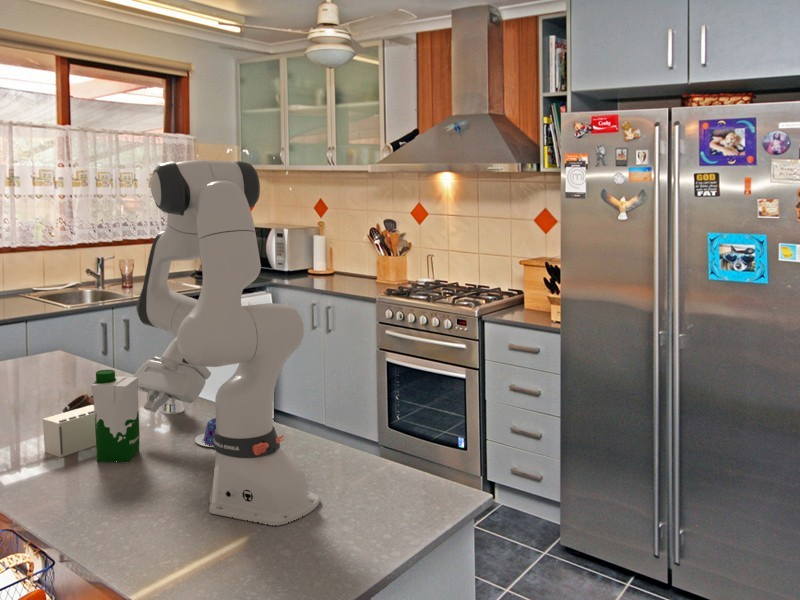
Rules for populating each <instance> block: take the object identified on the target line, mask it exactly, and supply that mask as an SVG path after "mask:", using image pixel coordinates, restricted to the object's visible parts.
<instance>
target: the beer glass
mask: <svg viewBox="0 0 800 600" xmlns="http://www.w3.org/2000/svg"><path fill="white" fill-rule="evenodd" d="M161 357H162V356H160V357H159V358H161ZM183 403H184V402H183V401H179V400H175V399H171V398H169V399H168V401H167V402H166V403H165V404H163V405H162V406H160V407H161V408H160V413H161V414H163V415H177V414H182V413H183V412H184V411H185V408H184V407H185V406H184V404H183Z"/></svg>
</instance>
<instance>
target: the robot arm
mask: <svg viewBox="0 0 800 600" xmlns="http://www.w3.org/2000/svg"><path fill="white" fill-rule="evenodd" d="M150 191H151V192H150V193H151V195H152V196H151V197H152V198H153V201H154V203H155V205H156V207H157V209H159V210H160V211H162V212H163V213H166V214H167V215H166V216H167V218H166V227H165V230H162V231H160V232H159V233H157V235H156V236H155V238H154V240H153V241H152V244H151V248H150V252H149V256H148V260H147V264H146V270H145V276H144V278H143V279H144V280H143V284H142V288H141V291H140V294H139V296H138V300H137V303H136V307H135V308H136V313H137V315H138V319H139V321H140V322H141V323H142V324H143V325H146V326H150V327H153V328H156V329H160V330H163V331H166V332H167V333H170V334H173V335H176V337H174V338H173V340H171V341H170V342H169V344H168V346H166V349H165V350H164V352H163V354H162V355H161V356H160V357H161V358H159V357H158V356H153V357H151V358H150V359H147V360H146V361H145V362H143V364H141V366H140V367H139V368H138V370H136V372H135V373H134V374H133V375H132V377H138V392H143V393H147V395H146V402H145V404H144V405H143V409H144V410H146V411H148V412H151V413H152V412H153V413H157V411H158V410H159V409H160V407H161V406H162V405H163V404H165V403H166V402H167V401H168V399H169V398H171V399H175V400H179V401H182V402H183V403H187V404H192V403H193V402H195V401H196V400H197V399H198V397H200V394H201V393H202V391H203V389H204V387H205V385H206V380H208V379H209V378H210V376H211V374H212V372H211V371H210V370H209V367H210V368H213V367H214V368H216V367H219V368H220V367H223V366H230V365H235V364H236V365H237V364H238V365H237V368H236V370H235V371H234V373H233V374H232V375H231V377H229V379H227V380H226V381H225V382H224V383H222V385H221V386H220V387H219V388H218V389H217V392H216V395H215V403H214V404H215V418H216V429H215V431H214V447H213V448H214V450H215V462H214V470H213V479H212V485H211V490H210V494H209V498H208V500H209V503H210V504H209V511H208V512H209V513H210V514H213V515H216V516H217V515H218V516H222V517H228V518H232V517H233V518H232V519H236V520H237V519H238V520H242V521H247V520H248V521H247V522H252V521H253V523H257V522H259V523H258V524H262V523H263V525H267V524H268V526H272V525H273V526H275V525H276V526H282V525H286V524H289V523H292V522H294V521H293V520H295V521H297V520H299V519H301V518H302V516H303V517H304V516H307V515H308V514H310V513H312V511H315V509H316V508H317V507H318V506H319V504H320V500H321V499H320V496H319V495H318V494H316V493H314V492H311V491H309V490H308V482H307V481H308V480H307V477H306V474H305V472H304V471H303V470H302V469H301V468H300V467H299V465H298V464H297V463H295V462H294V461H293V460H292V459H291V458H290V457H289V456H288V455H287V453H286V452H285V451H284V450H283V449H281V444H280V442H283V441H285V439H283V438H284V436H285V435H279V436H278V434H277V431H276V429H275V427H274V426H273V423H274V422H273V421H274V417H273V416H274V412H273V410H274V396H275V395H274V393H275V388H276V385H277V381H278V378H279V375H280V373H281V371H282V369H283V367H284V365H285V364H286V362H288V361H287V360H288V359H289V358H290V356H292V354H293V353H294V352H296V351H297V349H298V348H299V347H300V346H301V344H302V342H303V339H304V336H305V335H304V333H305V324H304V321H303V317H302V316H301V315H300V313H299V311H298V310H297V309H296V308H295V307H294V306H292V305H289V304H283V303H282V304H281V303H273V302H268V303H260V304H248V305H242V294H243V291H244V289H245V288H247V287H248V286H249V285H251V284H252V283H253V282H254V281H255V280H256V279H257V278H258V276H259V274H260V272H261V268H262V263H261V258H260V253H259V247H258V240H257V234H256V229H255V223H254V219H253V216H252V210H251V209H252V208H254V207H255V205H256V204H257V202H258V201H259V198H260V194H261V185H260V177H259V174H258V172H257V170H256V169H255V168H254V166H253V164H251V163H249V162H245V161H240V160H234V161H225V160H206V159H193V160H184V161H178V162H175V161H174V160H173V161H167V162H163V163H160V164H158V165H157V166H156V167H155V169H154V170H153V172H152V177H151V179H150ZM200 258H201V259H200ZM198 259H200V260H201V269H202V271H201V272H202V283H201V290H200V292H199V293H200V294H199V297H198V298H197V299H196V298H195V297H194V298H193V297H192V296H191V297H190V296H187V295H185V294H183V293H179V292H177V291H174V290H173V289H171V288H170V287H169V285H168V284H167V283H168V279H169V274H170V269H171V265H172V262H175V261H192V260H198ZM298 518H299V519H298ZM296 519H297V520H296ZM291 521H292V522H291ZM288 522H289V523H288ZM276 526H275V527H276Z"/></svg>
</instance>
